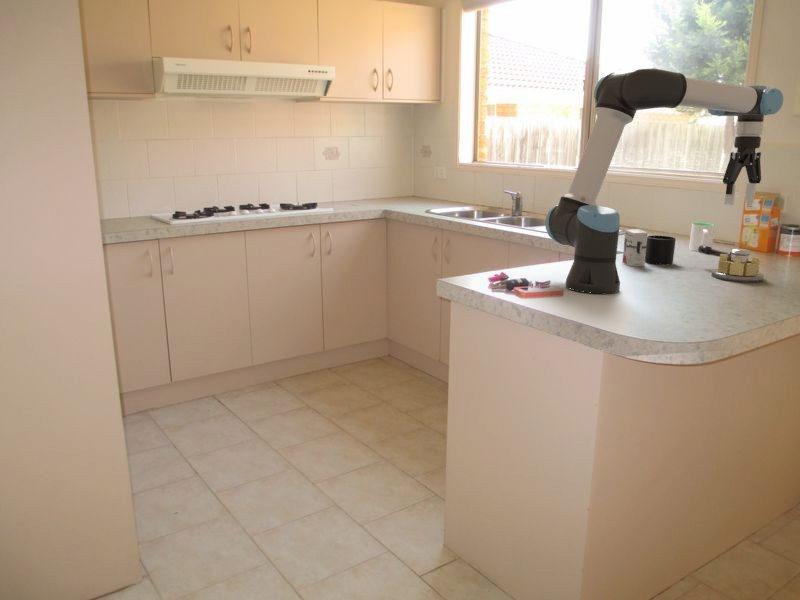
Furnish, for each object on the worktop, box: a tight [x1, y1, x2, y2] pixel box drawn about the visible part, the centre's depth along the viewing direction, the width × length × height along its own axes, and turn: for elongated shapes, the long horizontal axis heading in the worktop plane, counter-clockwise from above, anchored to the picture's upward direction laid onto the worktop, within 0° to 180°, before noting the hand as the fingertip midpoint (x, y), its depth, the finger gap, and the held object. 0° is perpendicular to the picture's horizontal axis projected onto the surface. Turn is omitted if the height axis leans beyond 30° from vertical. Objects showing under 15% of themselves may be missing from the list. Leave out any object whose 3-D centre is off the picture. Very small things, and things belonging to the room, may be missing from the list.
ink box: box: [622, 228, 648, 267], centre depth 231 cm, size 8×5×12 cm, turn 2°
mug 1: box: [645, 234, 677, 266], centre depth 237 cm, size 9×12×9 cm
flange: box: [711, 248, 765, 284], centre depth 212 cm, size 15×15×9 cm
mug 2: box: [688, 222, 715, 253], centre depth 262 cm, size 12×8×10 cm
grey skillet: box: [697, 245, 761, 276], centre depth 218 cm, size 11×24×6 cm, turn 13°
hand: (739, 203), depth 220 cm, fingers open, 11 cm apart
